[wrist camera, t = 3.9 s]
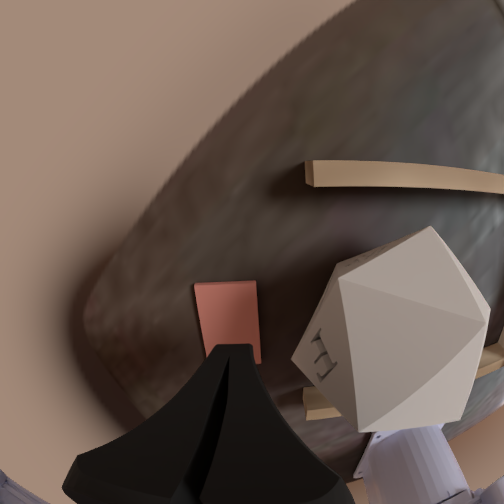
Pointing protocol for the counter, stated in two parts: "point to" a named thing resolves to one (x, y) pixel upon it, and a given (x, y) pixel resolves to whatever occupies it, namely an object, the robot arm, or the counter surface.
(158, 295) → the counter surface
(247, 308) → the mat
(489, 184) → the channel
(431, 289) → the die
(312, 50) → the counter surface
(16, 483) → the robot arm
